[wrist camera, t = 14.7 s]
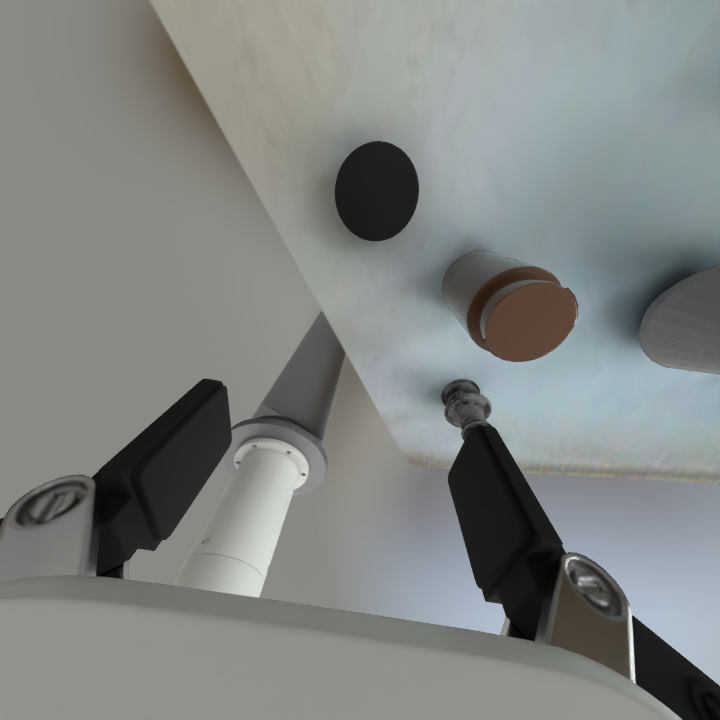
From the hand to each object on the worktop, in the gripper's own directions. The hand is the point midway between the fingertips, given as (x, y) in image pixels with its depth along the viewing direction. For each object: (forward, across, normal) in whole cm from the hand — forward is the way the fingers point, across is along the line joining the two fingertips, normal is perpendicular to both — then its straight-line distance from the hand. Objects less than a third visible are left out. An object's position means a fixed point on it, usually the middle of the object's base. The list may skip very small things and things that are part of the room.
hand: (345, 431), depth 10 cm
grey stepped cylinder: (+24, -16, +12) cm, 31 cm away
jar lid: (+20, +1, -10) cm, 23 cm away
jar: (+23, -12, -3) cm, 26 cm away
